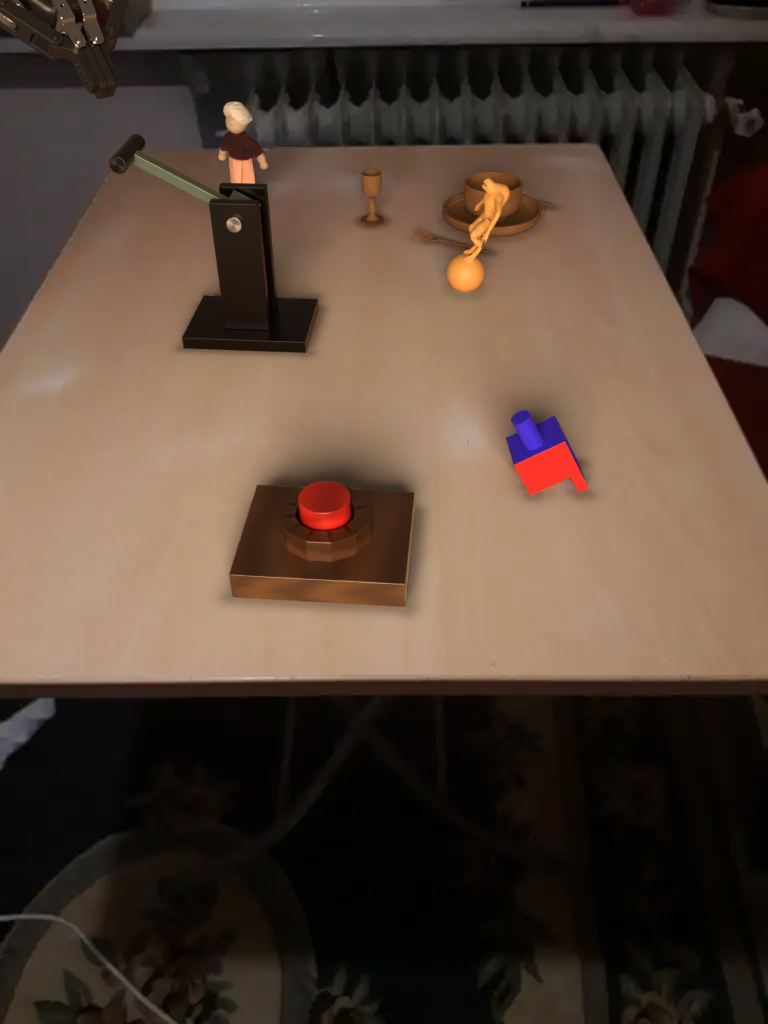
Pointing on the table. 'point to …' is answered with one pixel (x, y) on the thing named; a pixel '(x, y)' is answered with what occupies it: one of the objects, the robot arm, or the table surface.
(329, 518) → the button
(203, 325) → the bracket
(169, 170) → the lever
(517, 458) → the toy building block
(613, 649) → the table surface
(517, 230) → the place setting
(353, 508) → the button block
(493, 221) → the figurine
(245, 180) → the grandmother figurine
